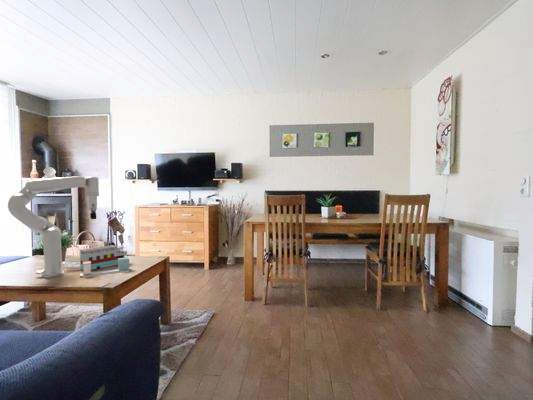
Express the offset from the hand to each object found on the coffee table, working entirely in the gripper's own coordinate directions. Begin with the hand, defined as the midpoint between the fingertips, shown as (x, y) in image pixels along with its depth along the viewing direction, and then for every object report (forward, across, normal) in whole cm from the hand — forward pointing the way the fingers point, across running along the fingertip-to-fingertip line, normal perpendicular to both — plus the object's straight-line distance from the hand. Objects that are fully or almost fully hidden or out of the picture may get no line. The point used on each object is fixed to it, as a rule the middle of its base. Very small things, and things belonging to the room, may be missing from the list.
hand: (93, 218), depth 215 cm
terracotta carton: (+36, +15, -5) cm, 39 cm away
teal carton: (+36, +15, +17) cm, 42 cm away
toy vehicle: (+37, -5, +7) cm, 38 cm away
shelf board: (+37, +15, +6) cm, 40 cm away
